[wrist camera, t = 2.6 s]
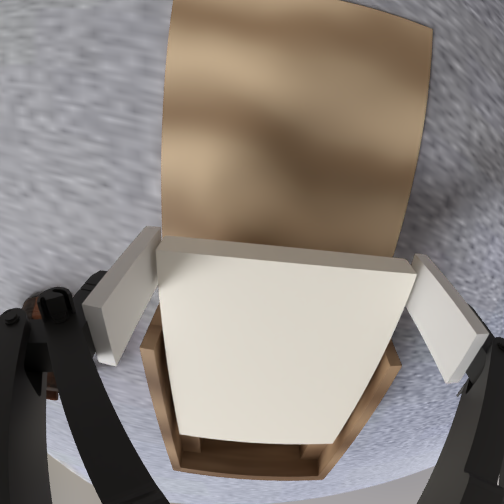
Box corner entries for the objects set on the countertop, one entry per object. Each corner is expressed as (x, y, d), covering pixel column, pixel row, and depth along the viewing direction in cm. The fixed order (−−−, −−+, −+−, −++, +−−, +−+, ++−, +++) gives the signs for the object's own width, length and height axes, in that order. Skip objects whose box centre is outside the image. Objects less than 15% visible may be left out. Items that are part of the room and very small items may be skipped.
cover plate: (165, 235, 14) (155, 249, 13) (406, 259, 14) (417, 274, 13) (183, 419, 22) (179, 434, 20) (330, 428, 22) (332, 443, 21)
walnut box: (169, 282, 21) (139, 347, 15) (373, 300, 21) (401, 365, 15) (183, 419, 29) (173, 470, 24) (317, 429, 29) (323, 479, 24)
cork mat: (176, -9, 12) (174, -11, 12) (430, 29, 12) (432, 29, 12) (165, 269, 21) (164, 271, 20) (380, 288, 21) (381, 291, 20)
